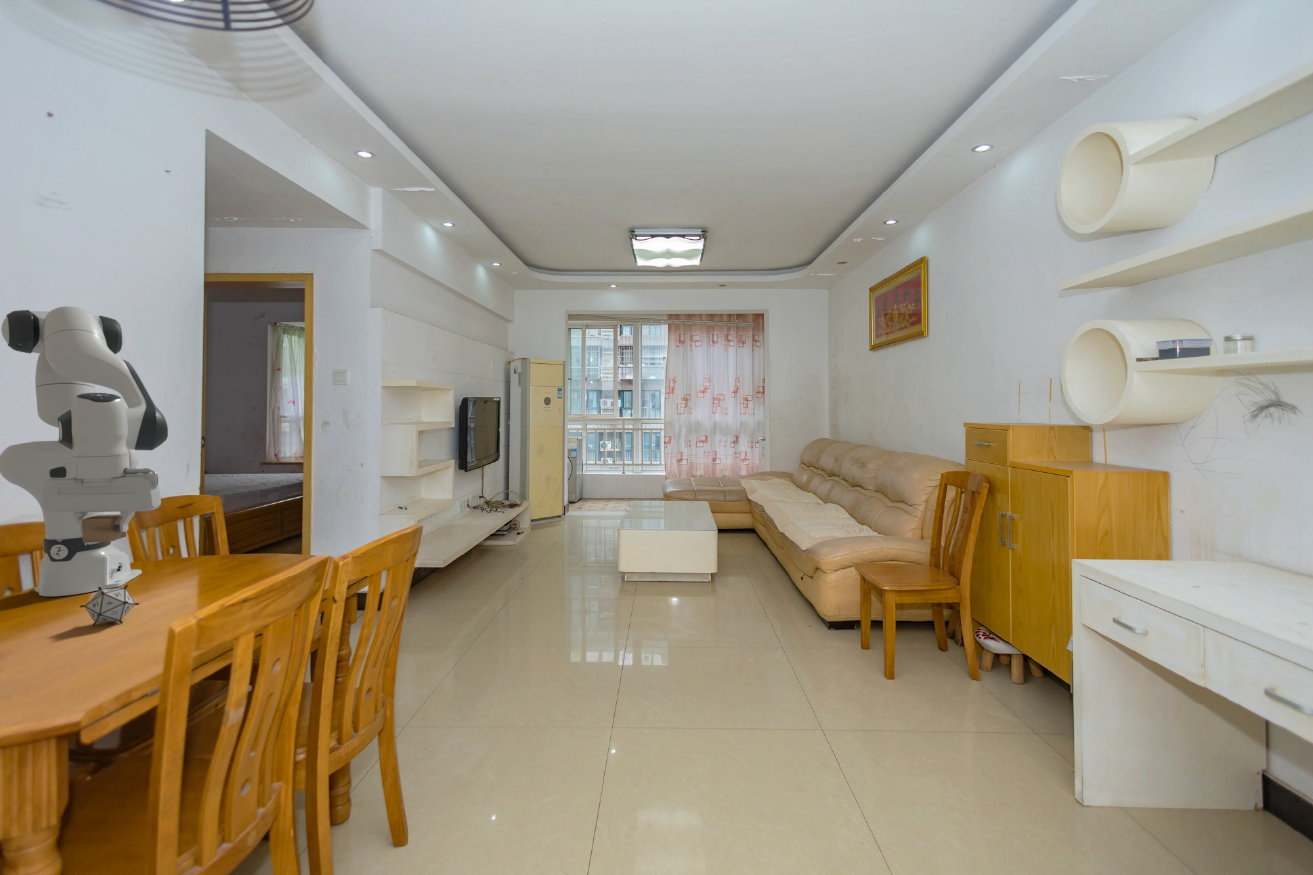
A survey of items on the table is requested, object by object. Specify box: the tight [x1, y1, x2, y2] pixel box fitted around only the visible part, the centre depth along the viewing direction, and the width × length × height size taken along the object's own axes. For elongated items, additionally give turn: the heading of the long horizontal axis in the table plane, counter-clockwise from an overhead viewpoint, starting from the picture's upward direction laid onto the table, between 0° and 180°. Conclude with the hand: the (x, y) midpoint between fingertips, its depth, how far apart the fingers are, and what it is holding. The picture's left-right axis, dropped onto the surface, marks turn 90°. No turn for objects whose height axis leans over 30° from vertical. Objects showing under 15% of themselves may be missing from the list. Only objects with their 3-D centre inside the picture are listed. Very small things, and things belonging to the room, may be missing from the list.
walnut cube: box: [82, 513, 127, 543], centre depth 128 cm, size 5×5×5 cm
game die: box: [78, 583, 140, 628], centre depth 129 cm, size 9×8×10 cm
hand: (104, 531), depth 128 cm, fingers closed on walnut cube, 5 cm apart
